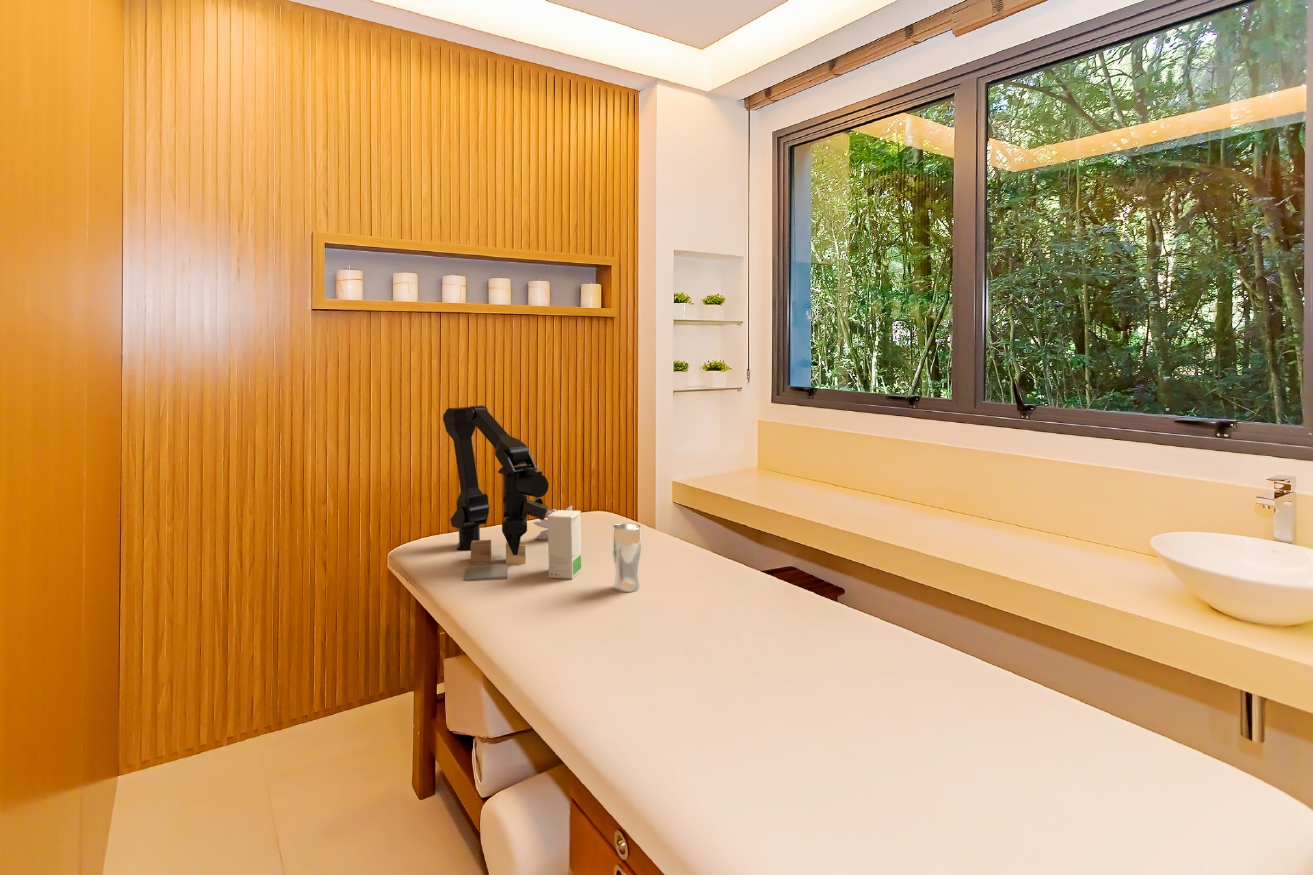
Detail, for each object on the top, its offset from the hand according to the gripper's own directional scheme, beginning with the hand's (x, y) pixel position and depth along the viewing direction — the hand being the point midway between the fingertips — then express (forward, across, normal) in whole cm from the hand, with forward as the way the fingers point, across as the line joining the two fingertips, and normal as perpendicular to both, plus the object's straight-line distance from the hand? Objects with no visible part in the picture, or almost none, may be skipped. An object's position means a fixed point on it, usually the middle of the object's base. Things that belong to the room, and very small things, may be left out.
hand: (515, 549), depth 191 cm
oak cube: (+3, 0, 0) cm, 3 cm away
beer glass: (+3, -25, -26) cm, 36 cm away
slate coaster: (+3, -9, +7) cm, 12 cm away
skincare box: (+3, -12, -12) cm, 18 cm away
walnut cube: (+3, +2, +9) cm, 10 cm away
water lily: (+3, +21, -12) cm, 24 cm away
